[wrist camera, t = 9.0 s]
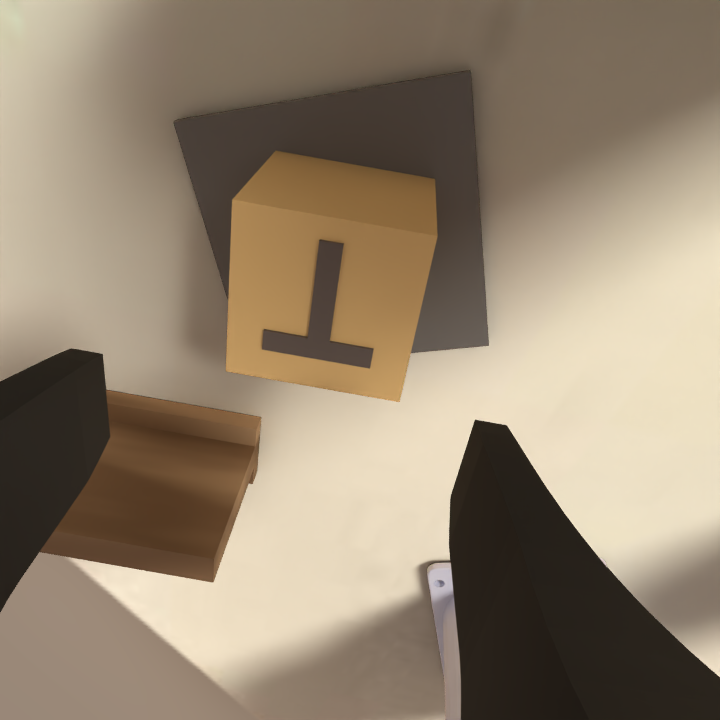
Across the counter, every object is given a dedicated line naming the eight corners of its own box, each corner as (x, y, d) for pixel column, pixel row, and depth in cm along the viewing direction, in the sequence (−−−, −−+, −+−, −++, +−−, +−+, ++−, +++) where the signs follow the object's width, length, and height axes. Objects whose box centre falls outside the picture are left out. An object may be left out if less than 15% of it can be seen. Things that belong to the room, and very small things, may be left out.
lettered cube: (404, 321, 22) (398, 406, 17) (265, 297, 22) (224, 376, 17) (435, 178, 19) (437, 237, 15) (275, 150, 19) (231, 200, 14)
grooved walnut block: (256, 471, 27) (212, 599, 21) (31, 431, 27) (-73, 549, 21) (261, 417, 25) (214, 540, 19) (20, 374, 25) (-95, 486, 19)
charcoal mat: (487, 339, 22) (488, 345, 22) (251, 362, 24) (248, 368, 23) (469, 70, 18) (470, 71, 17) (177, 119, 19) (173, 121, 19)
